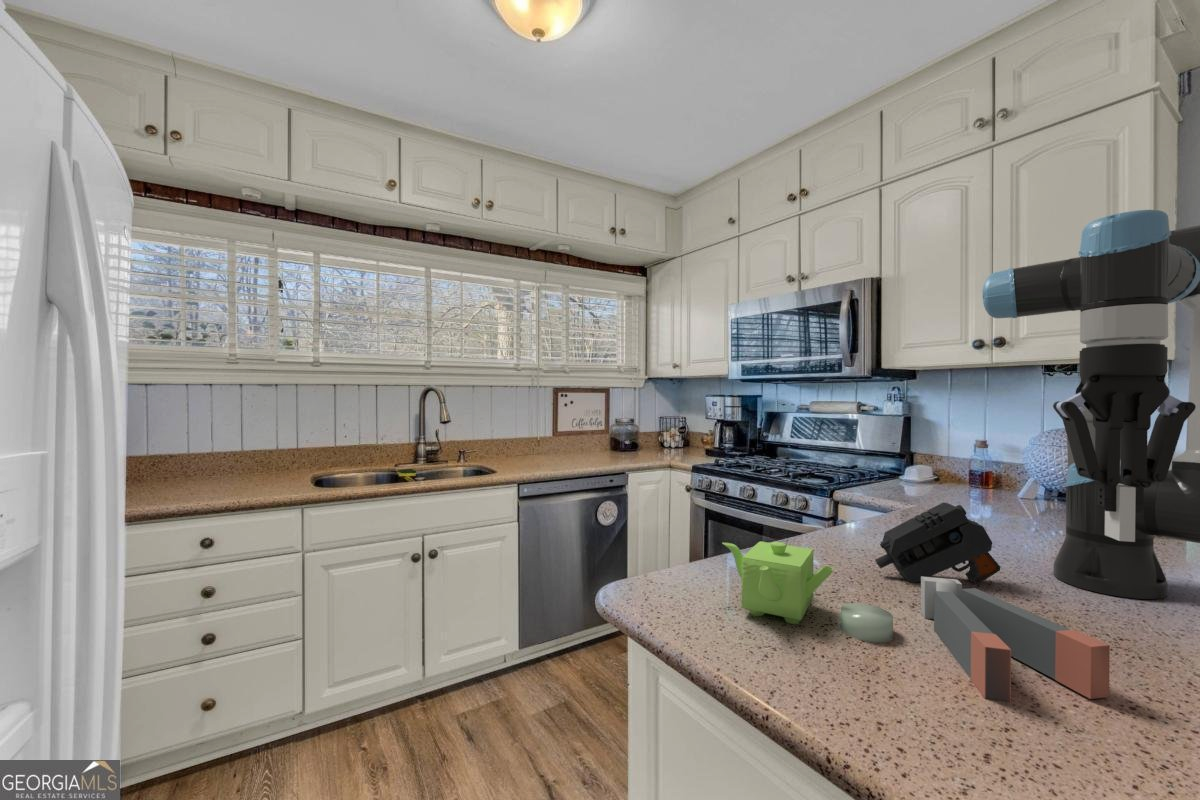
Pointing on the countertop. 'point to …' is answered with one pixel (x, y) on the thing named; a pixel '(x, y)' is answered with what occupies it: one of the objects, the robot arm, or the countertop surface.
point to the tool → (939, 545)
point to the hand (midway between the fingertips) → (1119, 538)
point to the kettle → (778, 579)
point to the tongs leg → (1045, 644)
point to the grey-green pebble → (867, 622)
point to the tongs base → (967, 638)
